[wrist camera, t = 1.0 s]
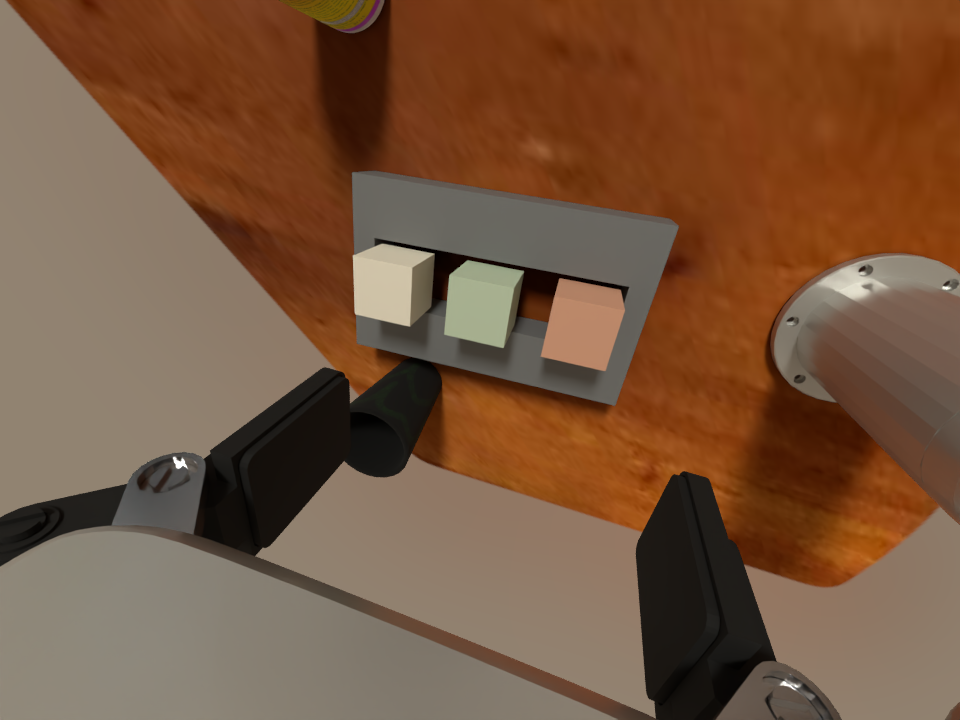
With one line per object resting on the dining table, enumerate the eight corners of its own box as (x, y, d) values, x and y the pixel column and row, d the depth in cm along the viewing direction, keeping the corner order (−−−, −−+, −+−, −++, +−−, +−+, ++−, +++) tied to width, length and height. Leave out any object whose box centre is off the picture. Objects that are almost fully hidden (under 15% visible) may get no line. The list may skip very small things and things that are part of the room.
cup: (421, 337, 43) (366, 394, 33) (463, 390, 45) (425, 460, 34) (375, 369, 46) (313, 430, 36) (417, 417, 48) (368, 488, 38)
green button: (524, 271, 33) (514, 288, 29) (514, 325, 36) (503, 348, 31) (467, 260, 34) (449, 275, 30) (461, 313, 37) (444, 334, 32)
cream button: (434, 253, 35) (412, 267, 30) (431, 306, 37) (409, 326, 33) (382, 243, 35) (352, 255, 31) (382, 296, 38) (354, 314, 34)
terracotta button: (620, 290, 32) (625, 310, 28) (603, 344, 34) (605, 371, 30) (559, 278, 33) (554, 296, 29) (547, 332, 35) (540, 356, 31)
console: (669, 218, 32) (678, 226, 29) (613, 384, 40) (614, 405, 36) (375, 170, 36) (351, 172, 33) (375, 328, 44) (356, 343, 40)
